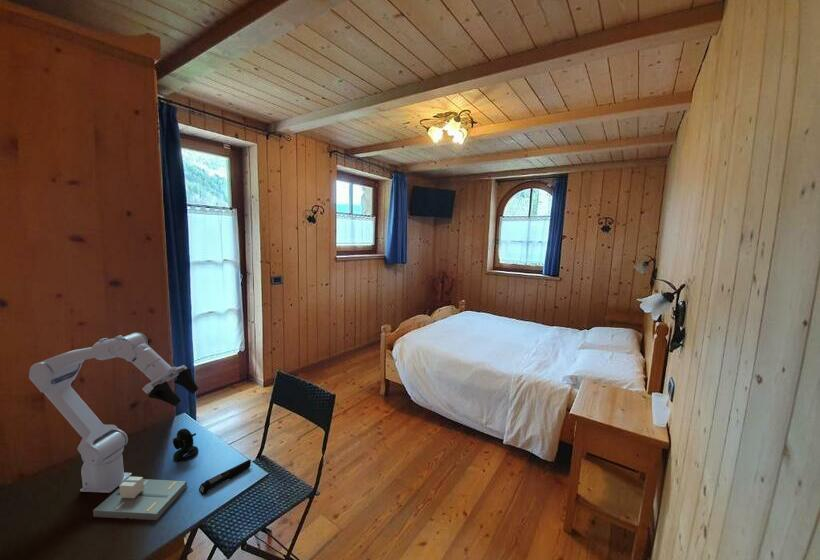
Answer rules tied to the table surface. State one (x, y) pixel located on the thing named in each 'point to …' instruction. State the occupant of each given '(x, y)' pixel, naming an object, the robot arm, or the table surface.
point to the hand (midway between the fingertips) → (187, 397)
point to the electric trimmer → (224, 477)
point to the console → (142, 501)
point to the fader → (131, 487)
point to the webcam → (184, 445)
